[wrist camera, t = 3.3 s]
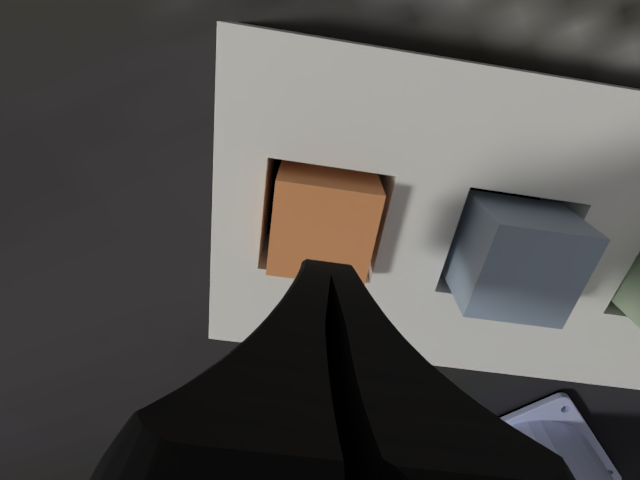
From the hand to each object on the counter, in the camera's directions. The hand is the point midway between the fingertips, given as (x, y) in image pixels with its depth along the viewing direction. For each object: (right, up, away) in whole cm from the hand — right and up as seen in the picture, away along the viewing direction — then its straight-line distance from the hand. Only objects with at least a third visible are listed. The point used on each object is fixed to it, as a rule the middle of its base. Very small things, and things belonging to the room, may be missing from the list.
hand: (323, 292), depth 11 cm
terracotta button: (0, +3, +6) cm, 6 cm away
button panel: (+7, +2, +7) cm, 10 cm away
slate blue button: (+7, +2, +5) cm, 9 cm away
